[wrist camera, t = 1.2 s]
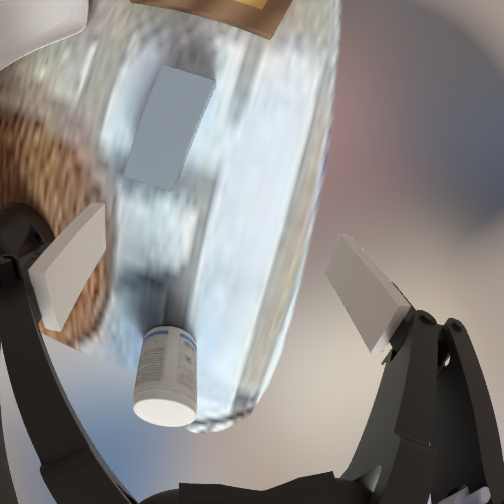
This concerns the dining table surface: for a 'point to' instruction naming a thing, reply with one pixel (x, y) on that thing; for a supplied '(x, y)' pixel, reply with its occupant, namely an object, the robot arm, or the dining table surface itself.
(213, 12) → the board
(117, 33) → the dining table surface
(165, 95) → the block
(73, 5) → the salad plate
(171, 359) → the supplement tub
